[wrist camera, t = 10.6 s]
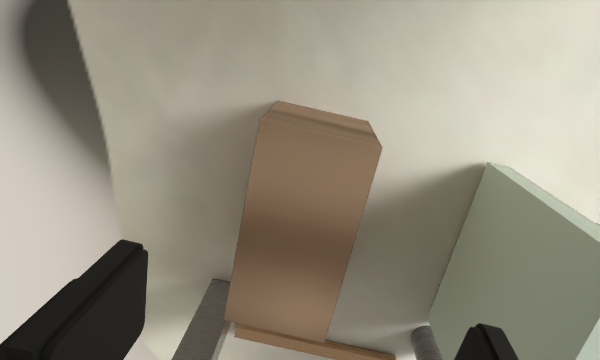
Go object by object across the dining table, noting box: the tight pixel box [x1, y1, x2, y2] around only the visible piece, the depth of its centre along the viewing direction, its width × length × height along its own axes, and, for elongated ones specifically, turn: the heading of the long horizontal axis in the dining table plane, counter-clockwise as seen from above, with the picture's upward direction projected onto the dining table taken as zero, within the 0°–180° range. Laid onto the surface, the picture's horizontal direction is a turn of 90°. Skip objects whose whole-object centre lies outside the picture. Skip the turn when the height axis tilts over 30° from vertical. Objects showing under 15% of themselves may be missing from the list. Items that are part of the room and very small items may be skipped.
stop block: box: [224, 101, 382, 343], centre depth 19 cm, size 10×5×6 cm, turn 168°
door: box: [428, 162, 600, 360], centre depth 17 cm, size 10×2×10 cm, turn 169°
